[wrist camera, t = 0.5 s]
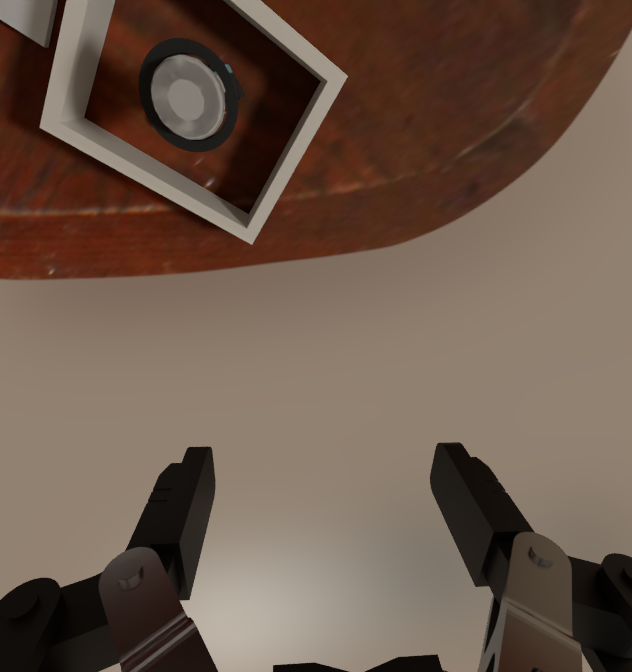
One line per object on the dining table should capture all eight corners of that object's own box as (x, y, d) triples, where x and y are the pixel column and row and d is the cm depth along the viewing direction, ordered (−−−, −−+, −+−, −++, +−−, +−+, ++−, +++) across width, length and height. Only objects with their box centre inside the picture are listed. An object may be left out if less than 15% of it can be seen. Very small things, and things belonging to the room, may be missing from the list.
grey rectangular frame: (66, 122, 27) (39, 127, 24) (122, -108, 21) (96, -142, 18) (253, 228, 34) (251, 244, 30) (338, 76, 27) (347, 76, 24)
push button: (189, 155, 29) (160, 183, 21) (143, 84, 26) (89, 86, 18) (258, 112, 28) (255, 125, 20) (218, 33, 25) (196, 11, 17)
